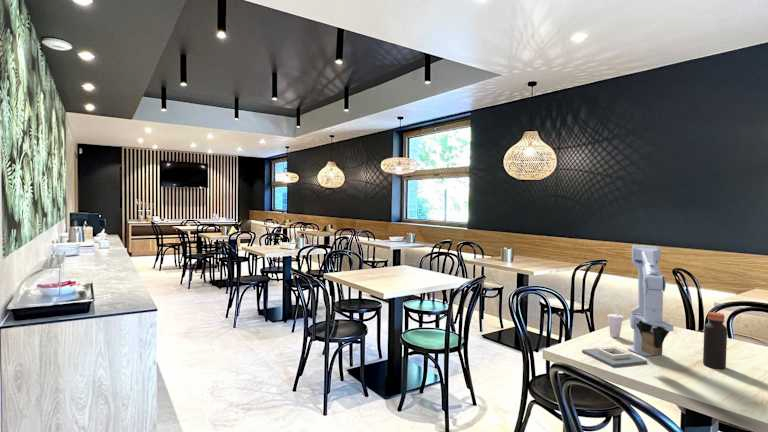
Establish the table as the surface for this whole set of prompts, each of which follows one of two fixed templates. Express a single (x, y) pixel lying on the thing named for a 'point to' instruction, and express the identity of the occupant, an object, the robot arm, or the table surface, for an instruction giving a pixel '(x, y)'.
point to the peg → (650, 343)
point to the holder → (614, 356)
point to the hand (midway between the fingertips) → (652, 345)
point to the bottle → (715, 341)
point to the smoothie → (615, 324)
